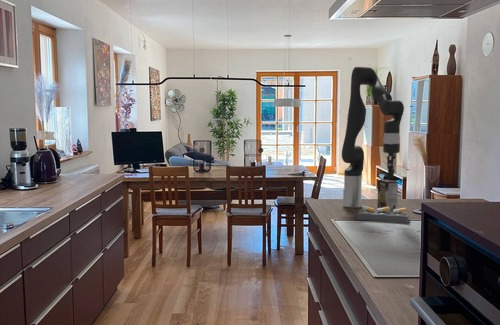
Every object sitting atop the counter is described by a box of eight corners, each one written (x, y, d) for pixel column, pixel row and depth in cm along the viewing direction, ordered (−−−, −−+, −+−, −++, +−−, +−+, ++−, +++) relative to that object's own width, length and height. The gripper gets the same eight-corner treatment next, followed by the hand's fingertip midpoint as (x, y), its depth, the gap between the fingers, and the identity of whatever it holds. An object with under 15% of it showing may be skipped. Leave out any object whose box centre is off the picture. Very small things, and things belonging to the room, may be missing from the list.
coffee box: (376, 209, 251) (377, 179, 249) (387, 209, 253) (388, 179, 251) (386, 213, 242) (387, 181, 241) (397, 212, 244) (398, 181, 243)
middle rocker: (377, 213, 230) (377, 209, 230) (378, 211, 233) (377, 208, 233) (389, 211, 228) (388, 207, 228) (390, 209, 231) (389, 206, 231)
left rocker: (361, 209, 232) (362, 206, 232) (362, 208, 236) (363, 204, 235) (372, 213, 230) (373, 209, 230) (373, 211, 234) (374, 208, 234)
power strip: (357, 219, 228) (357, 212, 228) (359, 215, 237) (360, 209, 236) (407, 223, 220) (407, 216, 220) (408, 219, 228) (408, 212, 228)
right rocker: (394, 214, 227) (393, 211, 227) (394, 213, 230) (393, 209, 230) (405, 212, 225) (404, 208, 225) (406, 210, 228) (405, 207, 228)
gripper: (384, 141, 235) (384, 174, 236) (382, 143, 222) (381, 178, 223) (400, 142, 232) (399, 174, 234) (399, 143, 219) (398, 178, 221)
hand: (390, 176), depth 228 cm, fingers open, 8 cm apart
